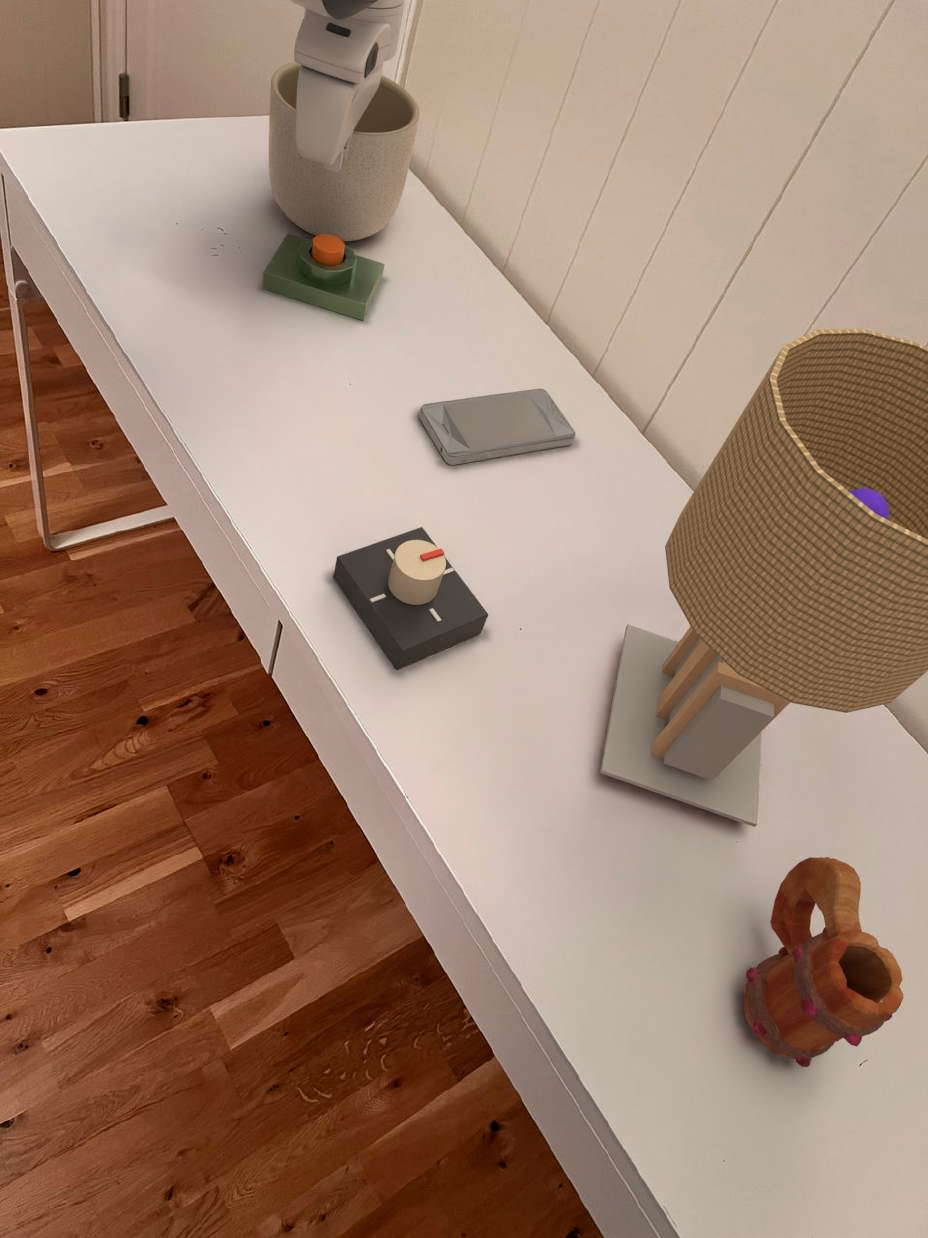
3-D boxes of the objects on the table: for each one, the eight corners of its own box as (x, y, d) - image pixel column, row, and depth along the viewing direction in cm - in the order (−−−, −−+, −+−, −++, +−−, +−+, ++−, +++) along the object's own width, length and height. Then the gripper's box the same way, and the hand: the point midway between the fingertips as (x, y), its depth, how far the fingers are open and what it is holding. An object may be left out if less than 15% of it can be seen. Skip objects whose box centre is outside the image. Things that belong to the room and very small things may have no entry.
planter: (424, 236, 117) (449, 117, 106) (327, 273, 108) (343, 147, 96) (334, 170, 122) (349, 49, 110) (234, 200, 112) (239, 71, 100)
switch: (307, 259, 102) (309, 245, 101) (316, 244, 104) (318, 230, 103) (338, 269, 102) (340, 255, 101) (346, 253, 105) (348, 239, 103)
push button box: (262, 288, 103) (264, 257, 100) (286, 249, 109) (288, 218, 106) (363, 320, 104) (368, 290, 101) (381, 279, 110) (387, 250, 106)
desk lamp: (590, 613, 85) (774, 290, 58) (783, 681, 86) (1056, 393, 58) (552, 790, 73) (763, 487, 46) (777, 869, 74) (1119, 616, 46)
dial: (403, 611, 77) (411, 583, 74) (379, 573, 78) (386, 545, 75) (446, 596, 79) (456, 569, 76) (422, 559, 80) (430, 531, 77)
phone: (575, 445, 99) (578, 436, 98) (446, 467, 93) (449, 458, 92) (541, 395, 103) (544, 387, 102) (415, 413, 96) (417, 404, 95)
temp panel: (332, 577, 81) (337, 555, 78) (415, 547, 85) (422, 525, 83) (396, 670, 76) (403, 650, 74) (480, 634, 81) (489, 613, 78)
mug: (828, 1077, 64) (941, 1037, 55) (741, 1071, 63) (840, 1030, 54) (792, 907, 72) (886, 846, 62) (714, 899, 71) (796, 835, 61)
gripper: (348, -26, 91) (332, 115, 101) (288, 49, 78) (276, 200, 89) (409, -4, 91) (386, 133, 102) (359, 73, 78) (338, 220, 89)
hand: (334, 165), depth 95 cm, fingers closed
